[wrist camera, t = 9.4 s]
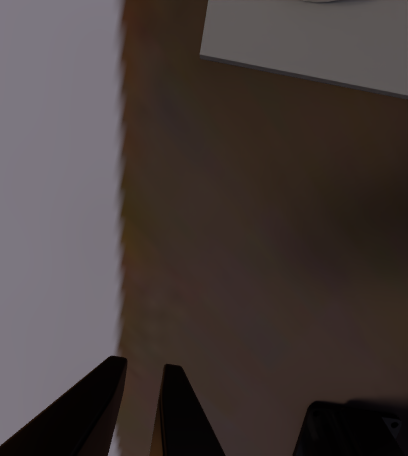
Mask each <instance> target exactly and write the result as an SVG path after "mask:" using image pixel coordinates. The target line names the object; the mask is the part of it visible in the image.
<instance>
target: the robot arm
mask: <svg viewBox="0 0 408 456" xmlns="http://www.w3.org/2000/svg"><path fill="white" fill-rule="evenodd" d="M126 370H127V359H126V358H124V357H118V356H110V357H108V358H107V359H106V360H105V361H103V362H102V363H101V364H100V365H98V366H97V367H96V368H95V369H93V370H92V371H91V372H90V373H89V374H87V375H86V376H85V377H84V378H83V379H81V380H80V381H79V382H78V383H76V384H75V385H74V386H73V387H71V388H70V389H69V390H68V391H67V392H65V393H64V394H63V395H62V396H61V397H59V398H58V399H57V400H56V401H54V402H53V403H52V404H51V405H50V406H48V407H47V408H46V409H45V410H43V411H42V412H41V413H40V414H38V415H37V416H36V417H35V418H34V419H32V420H31V421H30V422H29V423H28V424H26V425H25V426H24V427H23V428H21V429H20V430H19V431H18V432H16V433H15V434H14V435H13V436H12V437H10V438H9V439H8V440H7V441H5V442H4V443H3V444H2V445H1V446H0V456H108V453H109V449H110V445H111V441H112V436H113V432H114V428H115V424H116V420H117V416H118V412H119V408H120V404H121V400H122V396H123V391H124V385H125V377H126ZM314 411H317V412H314ZM393 422H394V423H393ZM401 426H402V422H401V420H400V419H399V417H398V416H397V415H394V414H387V413H380V412H373V411H366V410H359V409H353V408H346V407H339V406H332V405H325V404H318V403H313V404H311V405H310V406H309V407H308V409H307V412H306V415H305V418H304V421H303V425H302V428H301V431H300V434H299V437H298V440H297V443H296V446H295V450H294V453H293V456H405V455H404V453H403V452H402V450H401V448H400V447H399V445H398V443H397V442H396V438H397V436H398V433H399V431H400V429H401ZM149 456H225V454H224V452H223V449H222V447H221V445H220V443H219V441H218V439H217V437H216V435H215V433H214V431H213V429H212V427H211V425H210V423H209V421H208V419H207V417H206V415H205V413H204V411H203V409H202V407H201V405H200V403H199V401H198V399H197V397H196V395H195V393H194V391H193V388H192V386H191V384H190V382H189V380H188V378H187V376H186V374H185V372H184V370H183V368H182V367H181V366H179V365H172V364H165V365H164V368H163V374H162V380H161V385H160V391H159V397H158V403H157V409H156V415H155V422H154V428H153V434H152V440H151V446H150V452H149Z"/></svg>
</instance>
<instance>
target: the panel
mask: <svg viewBox="0 0 408 456" xmlns="http://www.w3.org/2000/svg"><path fill="white" fill-rule="evenodd" d="M200 59H205V60H210V61H215V62H220V63H225V64H230V65H235V66H240V67H245V68H250V69H255V70H260V71H265V72H271V73H276V74H281V75H286V76H291V77H296V78H301V79H306V80H311V81H316V82H321V83H326V84H331V85H337V86H342V87H347V88H352V89H357V90H362V91H367V92H372V93H377V94H382V95H387V96H392V97H397V98H403V99H408V0H335V1H329V2H310V1H303V0H208V7H207V13H206V19H205V25H204V32H203V38H202V44H201V50H200Z"/></svg>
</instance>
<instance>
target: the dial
mask: <svg viewBox="0 0 408 456" xmlns="http://www.w3.org/2000/svg"><path fill="white" fill-rule="evenodd" d="M303 1H310V2H329V1H335V0H303Z"/></svg>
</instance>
